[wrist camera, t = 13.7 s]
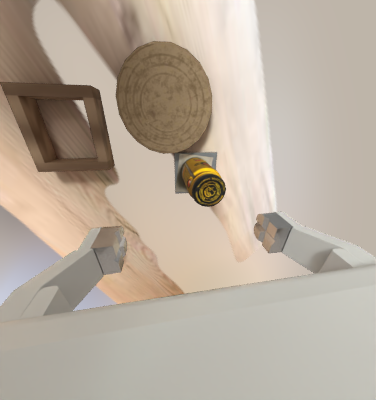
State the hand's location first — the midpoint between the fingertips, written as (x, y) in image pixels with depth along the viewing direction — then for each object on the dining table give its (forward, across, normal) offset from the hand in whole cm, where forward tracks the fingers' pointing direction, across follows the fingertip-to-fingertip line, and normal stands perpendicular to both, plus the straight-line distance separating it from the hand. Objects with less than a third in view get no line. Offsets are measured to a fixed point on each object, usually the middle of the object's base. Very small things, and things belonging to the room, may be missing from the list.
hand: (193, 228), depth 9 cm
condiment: (+25, -5, +5) cm, 26 cm away
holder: (+26, +17, -4) cm, 31 cm away
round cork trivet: (+26, 0, -8) cm, 28 cm away
